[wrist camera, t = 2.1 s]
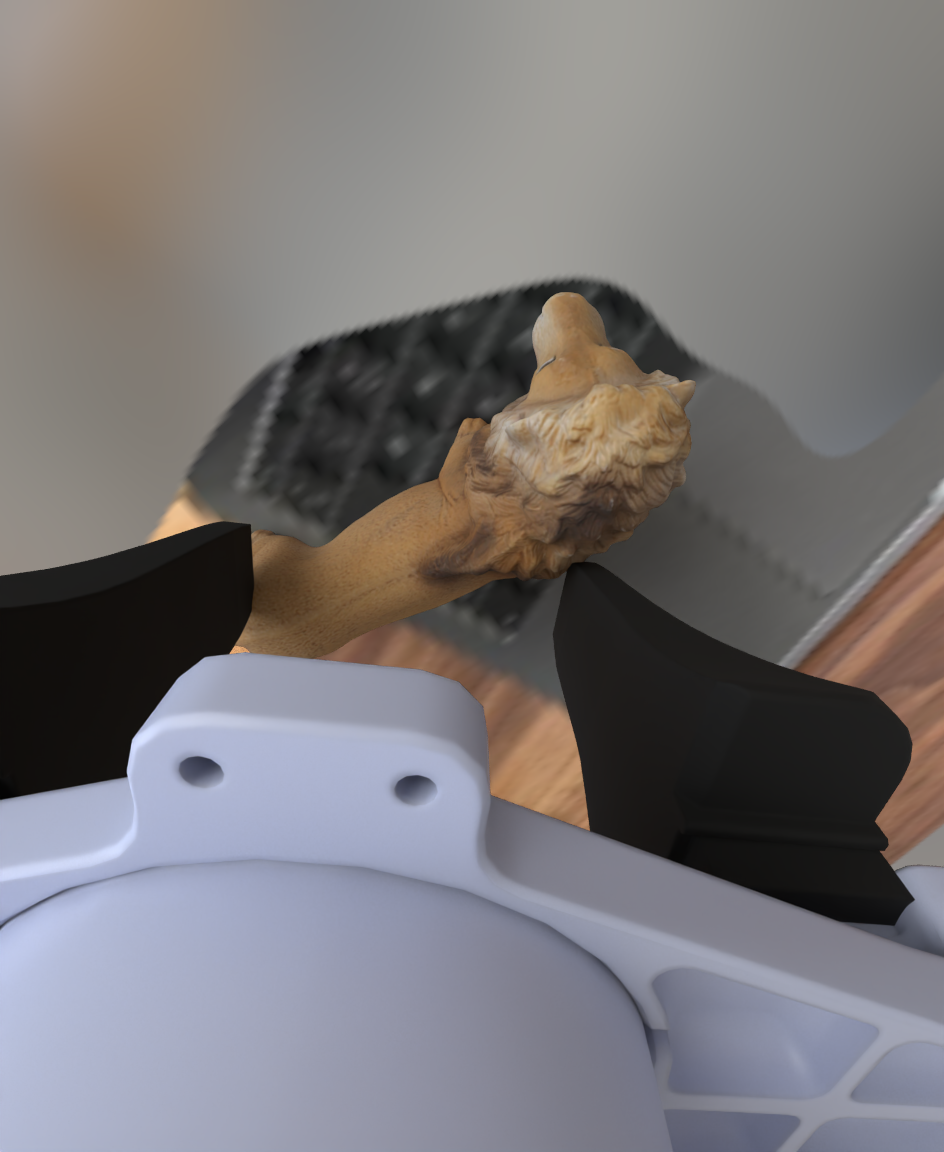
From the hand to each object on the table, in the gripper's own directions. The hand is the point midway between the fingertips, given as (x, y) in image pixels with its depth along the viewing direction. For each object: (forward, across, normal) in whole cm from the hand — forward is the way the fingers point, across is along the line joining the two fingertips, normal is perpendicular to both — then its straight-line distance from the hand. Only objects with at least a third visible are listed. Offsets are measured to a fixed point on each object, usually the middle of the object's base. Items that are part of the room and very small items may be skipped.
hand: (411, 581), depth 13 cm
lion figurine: (+7, 0, 0) cm, 7 cm away
